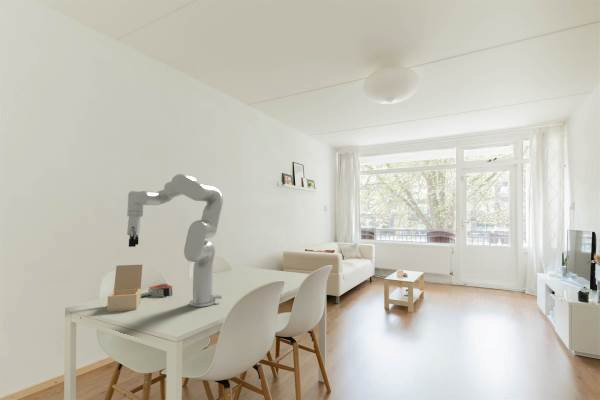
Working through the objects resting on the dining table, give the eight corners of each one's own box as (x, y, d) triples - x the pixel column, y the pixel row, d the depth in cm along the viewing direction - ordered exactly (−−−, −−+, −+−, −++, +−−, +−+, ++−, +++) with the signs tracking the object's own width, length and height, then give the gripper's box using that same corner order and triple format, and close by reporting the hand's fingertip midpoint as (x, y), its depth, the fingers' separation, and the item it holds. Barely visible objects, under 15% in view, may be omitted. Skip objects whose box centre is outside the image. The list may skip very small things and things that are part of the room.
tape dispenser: (129, 302, 169) (166, 300, 168) (128, 292, 169) (165, 290, 168) (145, 292, 186) (179, 290, 186) (145, 283, 186) (179, 281, 186)
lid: (140, 288, 163) (140, 288, 163) (142, 264, 167) (142, 264, 168) (113, 290, 159) (114, 290, 160) (116, 265, 163) (116, 265, 164)
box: (140, 302, 162) (140, 288, 162) (136, 309, 151) (136, 294, 151) (113, 304, 158) (113, 290, 159) (107, 311, 147) (107, 296, 147)
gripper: (130, 213, 180) (128, 243, 180) (124, 214, 164) (122, 247, 163) (144, 213, 183) (143, 243, 182) (140, 214, 166) (138, 247, 166)
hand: (133, 245), depth 173 cm, fingers open, 9 cm apart
